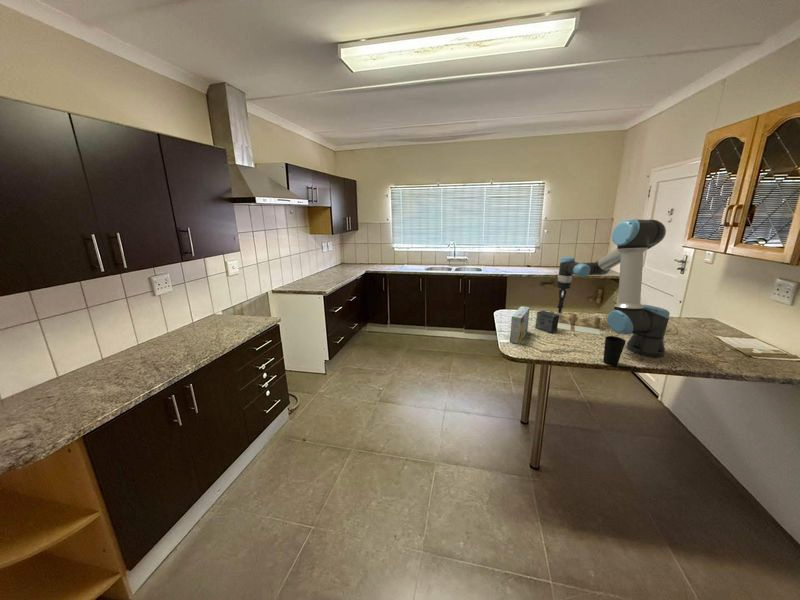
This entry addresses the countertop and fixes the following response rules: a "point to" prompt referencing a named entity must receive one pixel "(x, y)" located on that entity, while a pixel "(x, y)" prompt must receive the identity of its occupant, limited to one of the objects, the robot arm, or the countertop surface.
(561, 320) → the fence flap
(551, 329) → the small box
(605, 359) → the cup
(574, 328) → the card
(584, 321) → the fence fixed
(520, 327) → the snack box
